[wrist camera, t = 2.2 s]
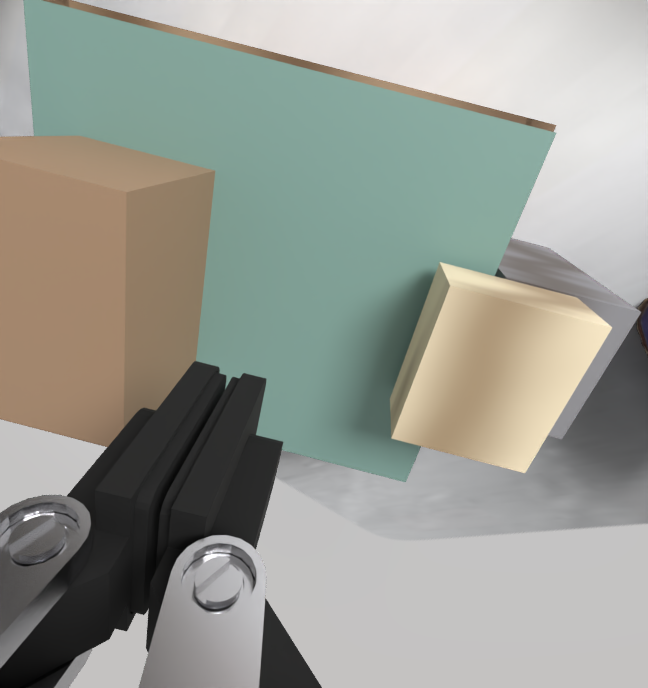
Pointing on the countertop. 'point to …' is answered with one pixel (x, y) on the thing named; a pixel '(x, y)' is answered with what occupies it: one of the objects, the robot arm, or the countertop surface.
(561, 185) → the countertop surface
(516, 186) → the lid
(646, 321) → the flask
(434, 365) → the pale gold block
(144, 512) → the robot arm
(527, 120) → the wooden box
